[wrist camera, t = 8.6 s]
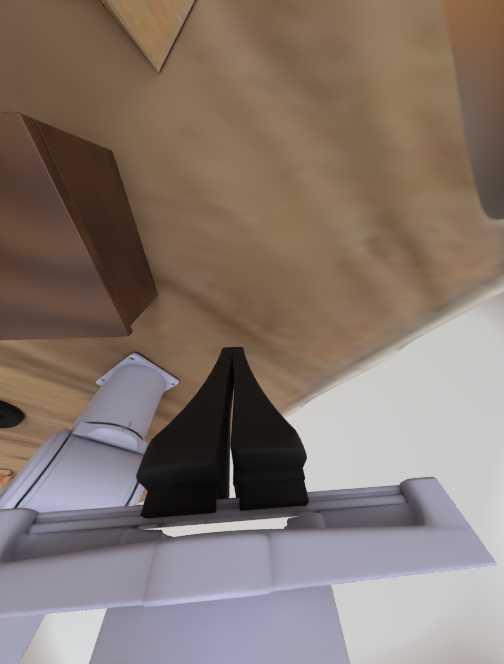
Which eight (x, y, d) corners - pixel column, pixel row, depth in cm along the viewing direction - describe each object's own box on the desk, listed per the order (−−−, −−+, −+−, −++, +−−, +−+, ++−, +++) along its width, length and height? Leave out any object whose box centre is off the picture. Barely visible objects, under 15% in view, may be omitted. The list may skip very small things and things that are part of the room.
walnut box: (158, 294, 20) (130, 325, 15) (29, 297, 20) (-45, 330, 14) (112, 150, 14) (34, 118, 8) (-87, 146, 13) (-303, 108, 8)
